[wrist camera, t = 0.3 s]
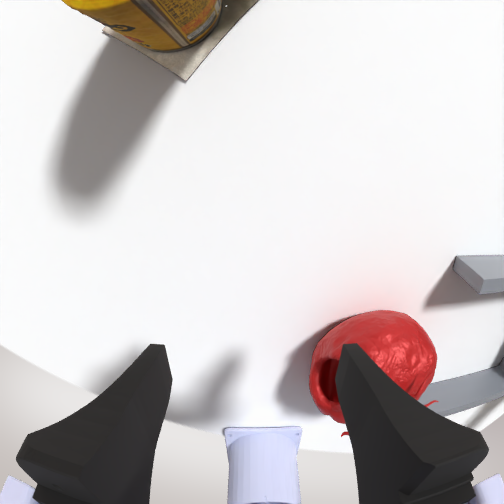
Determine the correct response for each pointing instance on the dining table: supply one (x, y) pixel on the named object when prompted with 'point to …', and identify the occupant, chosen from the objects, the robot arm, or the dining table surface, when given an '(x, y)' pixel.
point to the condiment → (167, 26)
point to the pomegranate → (374, 356)
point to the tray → (483, 382)
